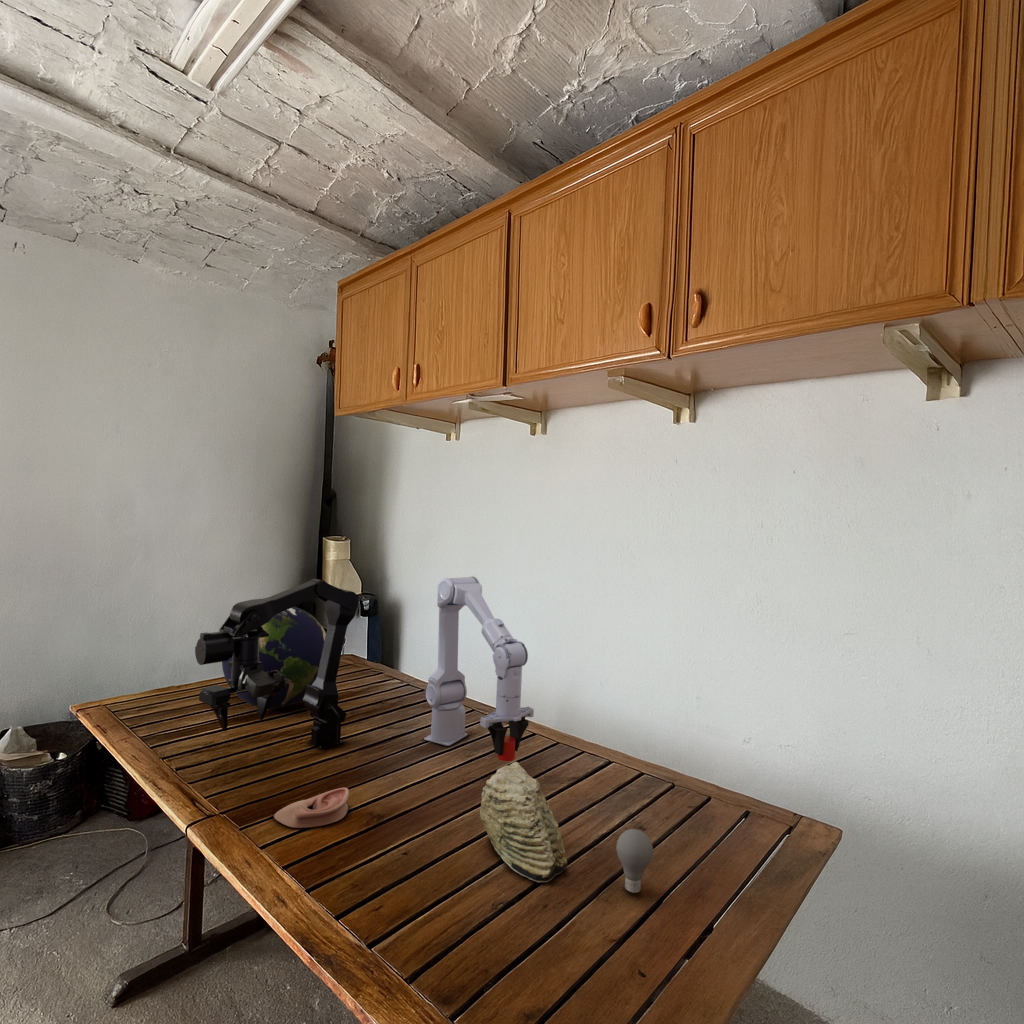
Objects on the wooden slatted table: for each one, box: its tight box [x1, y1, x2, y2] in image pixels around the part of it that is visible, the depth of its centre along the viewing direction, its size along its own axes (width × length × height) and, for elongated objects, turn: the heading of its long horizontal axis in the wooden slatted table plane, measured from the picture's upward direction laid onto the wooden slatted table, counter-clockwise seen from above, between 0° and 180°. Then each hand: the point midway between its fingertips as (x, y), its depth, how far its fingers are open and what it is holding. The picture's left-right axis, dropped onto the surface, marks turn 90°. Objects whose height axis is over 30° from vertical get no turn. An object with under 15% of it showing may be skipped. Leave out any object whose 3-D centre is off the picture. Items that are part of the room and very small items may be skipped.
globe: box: [221, 606, 326, 709], centre depth 188 cm, size 30×30×30 cm
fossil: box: [479, 761, 569, 883], centre depth 114 cm, size 9×18×15 cm, turn 46°
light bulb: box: [615, 828, 654, 894], centre depth 106 cm, size 6×6×10 cm
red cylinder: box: [497, 735, 516, 762], centre depth 149 cm, size 4×4×4 cm
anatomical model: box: [273, 787, 350, 829], centre depth 126 cm, size 13×4×12 cm
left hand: (243, 725), depth 146 cm, fingers open, 9 cm apart
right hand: (506, 751), depth 149 cm, fingers closed on red cylinder, 4 cm apart
